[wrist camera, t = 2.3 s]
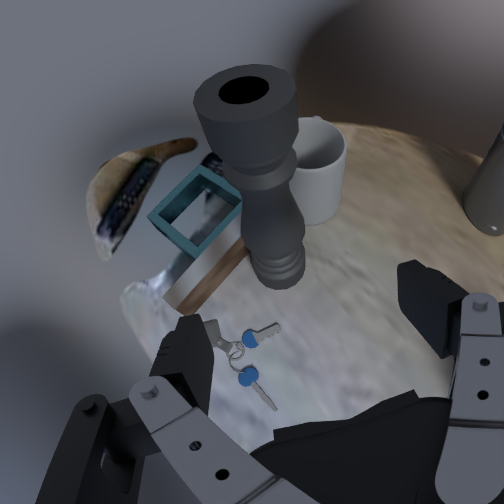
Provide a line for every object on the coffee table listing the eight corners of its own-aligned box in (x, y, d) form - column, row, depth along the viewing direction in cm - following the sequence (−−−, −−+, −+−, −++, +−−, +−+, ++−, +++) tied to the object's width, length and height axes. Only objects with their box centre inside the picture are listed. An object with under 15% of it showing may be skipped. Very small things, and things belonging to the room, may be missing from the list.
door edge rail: (268, 212, 41) (263, 188, 36) (279, 219, 40) (276, 196, 35) (179, 309, 37) (161, 297, 32) (190, 319, 36) (173, 308, 31)
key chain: (184, 337, 36) (181, 336, 35) (226, 286, 38) (225, 284, 37) (275, 412, 31) (274, 413, 30) (320, 355, 33) (321, 354, 32)
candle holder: (273, 300, 36) (223, 144, 13) (244, 261, 38) (171, 94, 16) (315, 269, 36) (325, 91, 14) (285, 233, 39) (258, 52, 17)
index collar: (206, 179, 45) (199, 164, 42) (259, 213, 41) (255, 198, 38) (156, 229, 43) (146, 216, 39) (206, 271, 39) (197, 260, 35)
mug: (335, 231, 38) (344, 177, 28) (270, 220, 40) (259, 166, 30) (345, 161, 43) (351, 104, 33) (289, 153, 45) (283, 96, 35)
